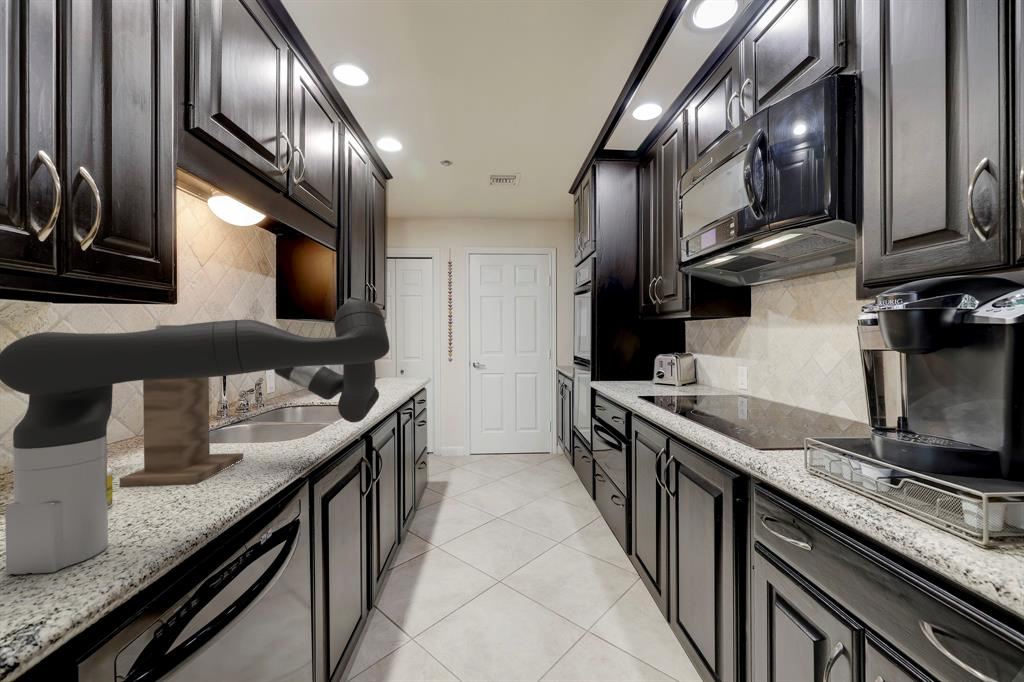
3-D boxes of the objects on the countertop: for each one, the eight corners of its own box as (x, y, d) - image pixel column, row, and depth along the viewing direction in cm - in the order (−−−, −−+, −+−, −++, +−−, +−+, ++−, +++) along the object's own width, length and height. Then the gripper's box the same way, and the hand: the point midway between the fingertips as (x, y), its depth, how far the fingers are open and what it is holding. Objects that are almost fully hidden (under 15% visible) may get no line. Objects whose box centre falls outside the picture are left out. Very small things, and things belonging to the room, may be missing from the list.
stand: (196, 484, 90) (194, 341, 90) (119, 487, 89) (117, 342, 89) (243, 460, 108) (241, 341, 108) (180, 462, 107) (178, 342, 107)
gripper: (279, 385, 94) (215, 351, 93) (305, 379, 108) (250, 349, 107) (295, 357, 94) (232, 323, 93) (320, 355, 109) (265, 325, 108)
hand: (242, 337), depth 100 cm, fingers open, 8 cm apart
